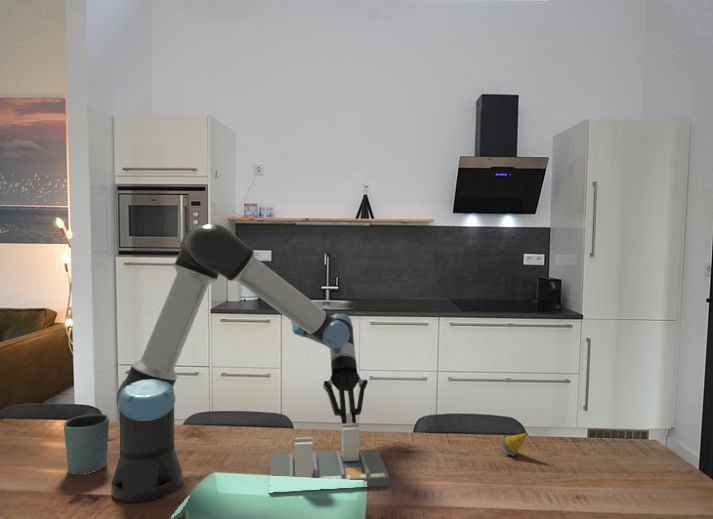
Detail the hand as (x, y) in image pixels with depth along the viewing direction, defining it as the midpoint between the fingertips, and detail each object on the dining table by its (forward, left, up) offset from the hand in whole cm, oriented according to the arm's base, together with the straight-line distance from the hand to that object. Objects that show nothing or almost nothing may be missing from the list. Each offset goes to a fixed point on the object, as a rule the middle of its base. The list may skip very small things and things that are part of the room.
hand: (350, 439), depth 126 cm
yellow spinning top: (+44, -2, -6) cm, 45 cm away
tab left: (-13, -12, -3) cm, 18 cm away
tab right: (-1, -4, -3) cm, 5 cm away
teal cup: (-67, +4, -6) cm, 67 cm away
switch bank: (-7, -7, -5) cm, 11 cm away
